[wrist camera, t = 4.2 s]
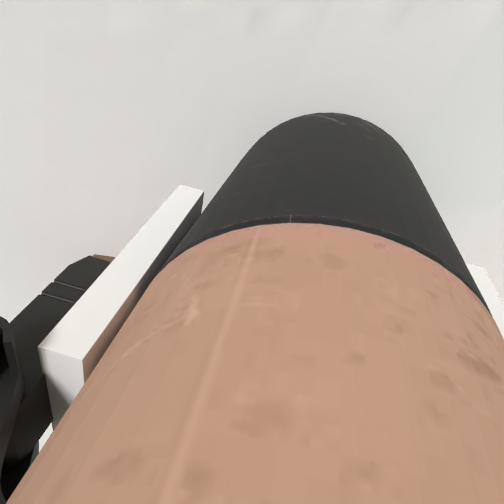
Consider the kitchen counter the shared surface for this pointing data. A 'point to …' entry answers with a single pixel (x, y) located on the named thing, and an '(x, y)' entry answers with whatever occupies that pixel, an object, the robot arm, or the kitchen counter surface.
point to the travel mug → (296, 348)
